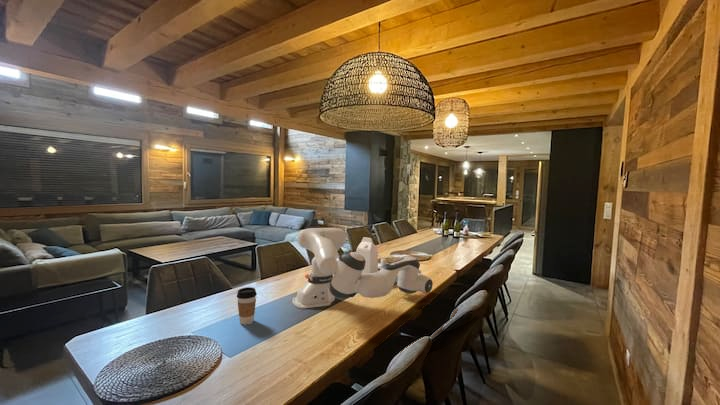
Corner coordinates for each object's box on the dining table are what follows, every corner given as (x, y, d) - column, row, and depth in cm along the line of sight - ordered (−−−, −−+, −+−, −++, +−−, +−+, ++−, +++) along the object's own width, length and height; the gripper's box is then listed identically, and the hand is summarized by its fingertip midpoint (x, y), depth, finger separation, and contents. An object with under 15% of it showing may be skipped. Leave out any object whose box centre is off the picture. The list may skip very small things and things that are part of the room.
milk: (378, 274, 208) (379, 237, 207) (369, 279, 199) (370, 240, 197) (363, 271, 215) (364, 235, 213) (354, 275, 205) (355, 238, 203)
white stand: (381, 282, 184) (382, 261, 184) (373, 278, 192) (373, 258, 191) (393, 280, 189) (393, 260, 188) (384, 276, 197) (385, 256, 196)
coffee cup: (235, 327, 131) (235, 293, 130) (238, 318, 139) (237, 286, 138) (256, 325, 133) (256, 292, 132) (257, 316, 141) (257, 285, 140)
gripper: (394, 286, 165) (379, 278, 176) (422, 280, 175) (406, 273, 187) (394, 274, 164) (380, 268, 176) (422, 269, 175) (407, 263, 187)
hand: (394, 271), depth 182 cm, fingers open, 8 cm apart
